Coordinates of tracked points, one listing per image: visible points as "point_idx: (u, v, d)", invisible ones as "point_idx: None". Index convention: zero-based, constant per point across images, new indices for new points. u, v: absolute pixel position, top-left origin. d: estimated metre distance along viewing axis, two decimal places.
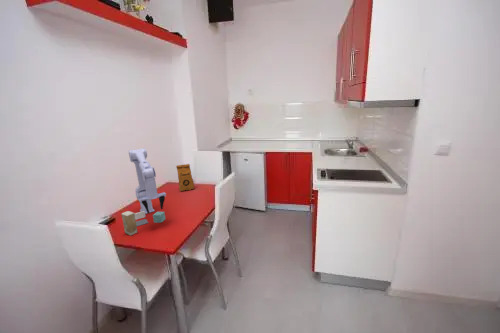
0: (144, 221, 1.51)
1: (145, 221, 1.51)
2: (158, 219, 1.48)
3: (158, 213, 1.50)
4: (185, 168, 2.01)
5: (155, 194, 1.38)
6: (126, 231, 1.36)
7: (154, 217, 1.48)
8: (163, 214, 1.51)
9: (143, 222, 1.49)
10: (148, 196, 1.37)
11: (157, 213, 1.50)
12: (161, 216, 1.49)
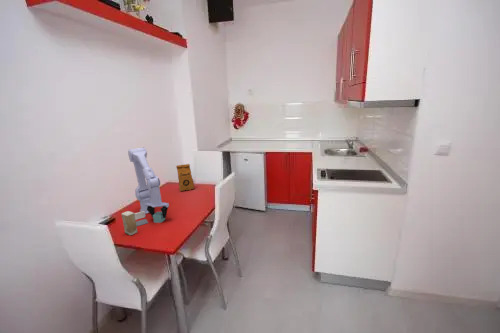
0: (144, 221, 1.51)
1: (145, 221, 1.51)
2: (158, 219, 1.48)
3: (158, 213, 1.50)
4: (185, 168, 2.01)
5: (156, 203, 1.45)
6: (126, 231, 1.36)
7: (154, 217, 1.48)
8: None
9: (143, 222, 1.49)
10: (151, 203, 1.47)
11: (157, 213, 1.50)
12: (161, 216, 1.49)
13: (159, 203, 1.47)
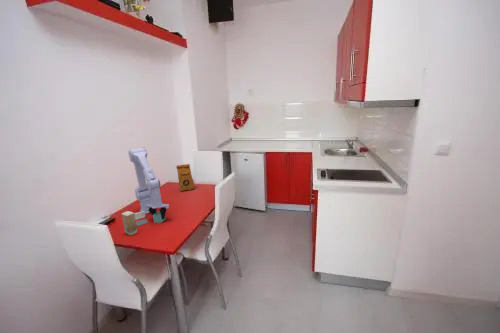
0: (144, 221, 1.51)
1: (145, 221, 1.51)
2: (158, 219, 1.48)
3: (158, 213, 1.50)
4: (185, 168, 2.01)
5: (156, 204, 1.46)
6: (126, 231, 1.36)
7: (154, 217, 1.48)
8: None
9: (143, 222, 1.49)
10: (152, 204, 1.47)
11: (157, 213, 1.50)
12: (161, 216, 1.49)
13: (159, 204, 1.47)
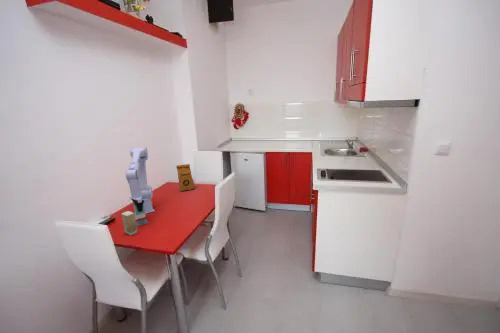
0: (144, 221, 1.51)
1: (145, 221, 1.51)
2: (135, 210, 1.46)
3: None
4: (185, 168, 2.01)
5: (132, 195, 1.43)
6: (126, 231, 1.36)
7: (134, 207, 1.47)
8: None
9: (143, 222, 1.49)
10: None
11: None
12: None
13: (135, 196, 1.43)
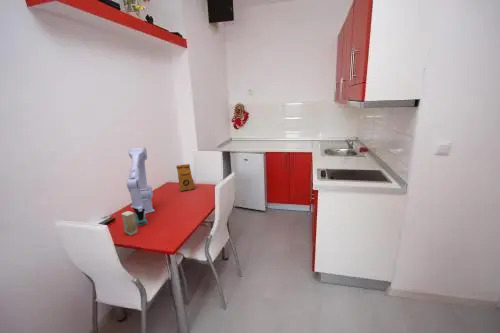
0: None
1: (145, 221, 1.51)
2: (136, 219, 1.47)
3: None
4: (185, 168, 2.01)
5: (133, 204, 1.44)
6: (126, 231, 1.36)
7: (135, 216, 1.49)
8: None
9: (143, 222, 1.49)
10: None
11: None
12: None
13: (136, 205, 1.44)
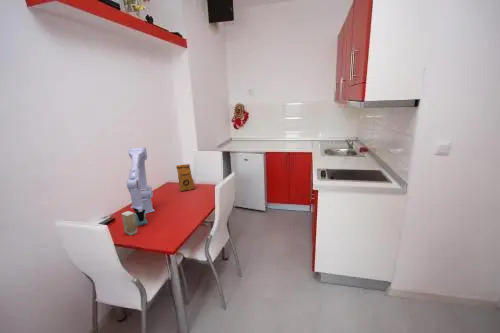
0: None
1: None
2: (136, 220, 1.47)
3: None
4: (185, 168, 2.01)
5: (133, 204, 1.44)
6: (126, 231, 1.36)
7: (135, 217, 1.49)
8: None
9: None
10: None
11: None
12: (138, 218, 1.46)
13: (136, 205, 1.44)
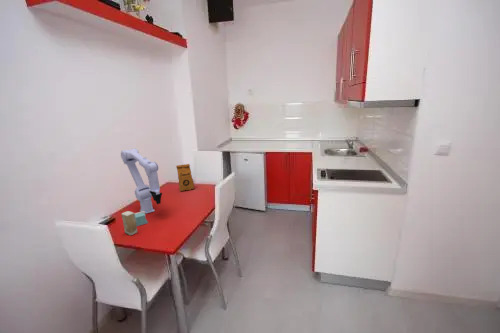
0: None
1: None
2: (136, 220, 1.47)
3: (139, 214, 1.49)
4: (185, 168, 2.01)
5: (150, 188, 1.50)
6: (126, 231, 1.36)
7: (135, 217, 1.49)
8: (142, 217, 1.47)
9: None
10: None
11: (139, 214, 1.49)
12: (138, 218, 1.46)
13: (153, 188, 1.50)
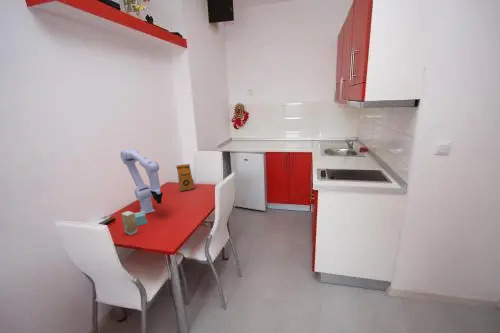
0: None
1: None
2: (136, 220, 1.47)
3: (139, 214, 1.49)
4: (185, 168, 2.01)
5: (151, 187, 1.50)
6: (126, 231, 1.36)
7: (135, 217, 1.49)
8: (142, 217, 1.47)
9: None
10: None
11: (139, 214, 1.49)
12: (138, 218, 1.46)
13: (154, 188, 1.50)
